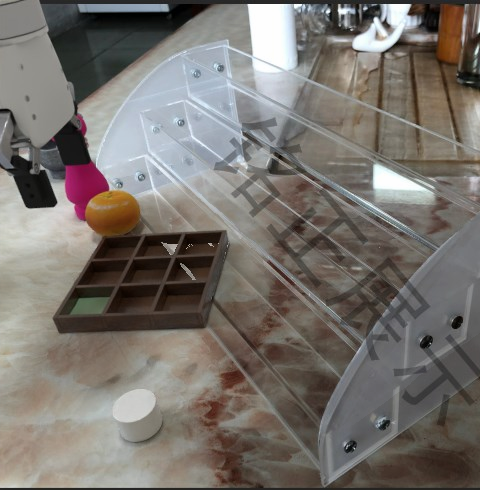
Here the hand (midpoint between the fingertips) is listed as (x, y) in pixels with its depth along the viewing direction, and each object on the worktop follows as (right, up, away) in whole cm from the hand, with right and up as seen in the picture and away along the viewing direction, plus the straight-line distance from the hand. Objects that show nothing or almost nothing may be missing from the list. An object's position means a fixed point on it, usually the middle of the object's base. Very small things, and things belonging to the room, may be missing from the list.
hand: (61, 184), depth 65 cm
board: (+3, -12, +22) cm, 25 cm away
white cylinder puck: (+9, -26, 0) cm, 28 cm away
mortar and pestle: (-23, +8, +57) cm, 62 cm away
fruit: (-6, -4, +36) cm, 36 cm away
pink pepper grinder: (-12, -1, +42) cm, 43 cm away
